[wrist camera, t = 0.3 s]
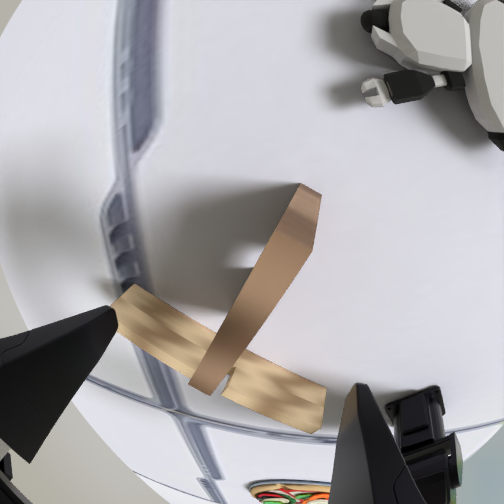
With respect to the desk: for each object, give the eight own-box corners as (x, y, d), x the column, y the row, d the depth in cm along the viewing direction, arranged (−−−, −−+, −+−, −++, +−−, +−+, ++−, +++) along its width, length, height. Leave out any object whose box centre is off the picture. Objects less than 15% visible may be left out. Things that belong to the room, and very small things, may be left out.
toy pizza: (286, 507, 53) (282, 519, 49) (226, 475, 47) (220, 491, 43) (382, 500, 41) (381, 514, 37) (346, 472, 35) (343, 492, 31)
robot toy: (355, 114, 16) (530, 172, 12) (356, 109, 12) (562, 185, 8) (358, -29, 11) (531, 34, 7) (356, -61, 7) (557, 23, 3)
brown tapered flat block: (300, 182, 18) (274, 229, 10) (321, 194, 18) (312, 250, 10) (232, 306, 24) (187, 384, 16) (248, 315, 24) (209, 395, 16)
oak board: (326, 388, 26) (321, 428, 21) (317, 395, 26) (311, 434, 22) (134, 283, 26) (104, 311, 22) (132, 294, 27) (103, 321, 23)
